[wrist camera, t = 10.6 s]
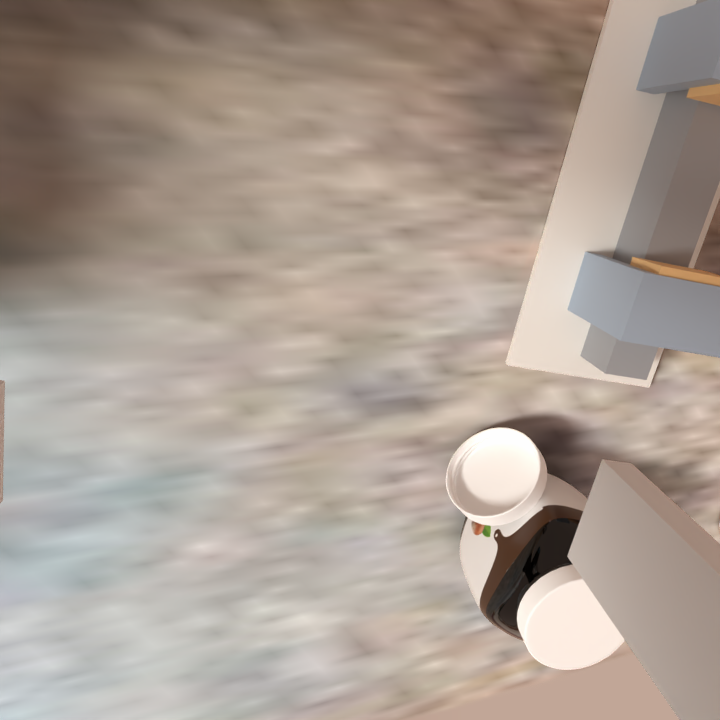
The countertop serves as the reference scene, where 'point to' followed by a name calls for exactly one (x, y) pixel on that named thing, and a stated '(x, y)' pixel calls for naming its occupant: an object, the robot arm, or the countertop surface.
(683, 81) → the fitted finger
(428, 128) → the countertop surface
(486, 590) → the spread jar
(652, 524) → the robot arm
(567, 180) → the rail board
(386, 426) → the countertop surface
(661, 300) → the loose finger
